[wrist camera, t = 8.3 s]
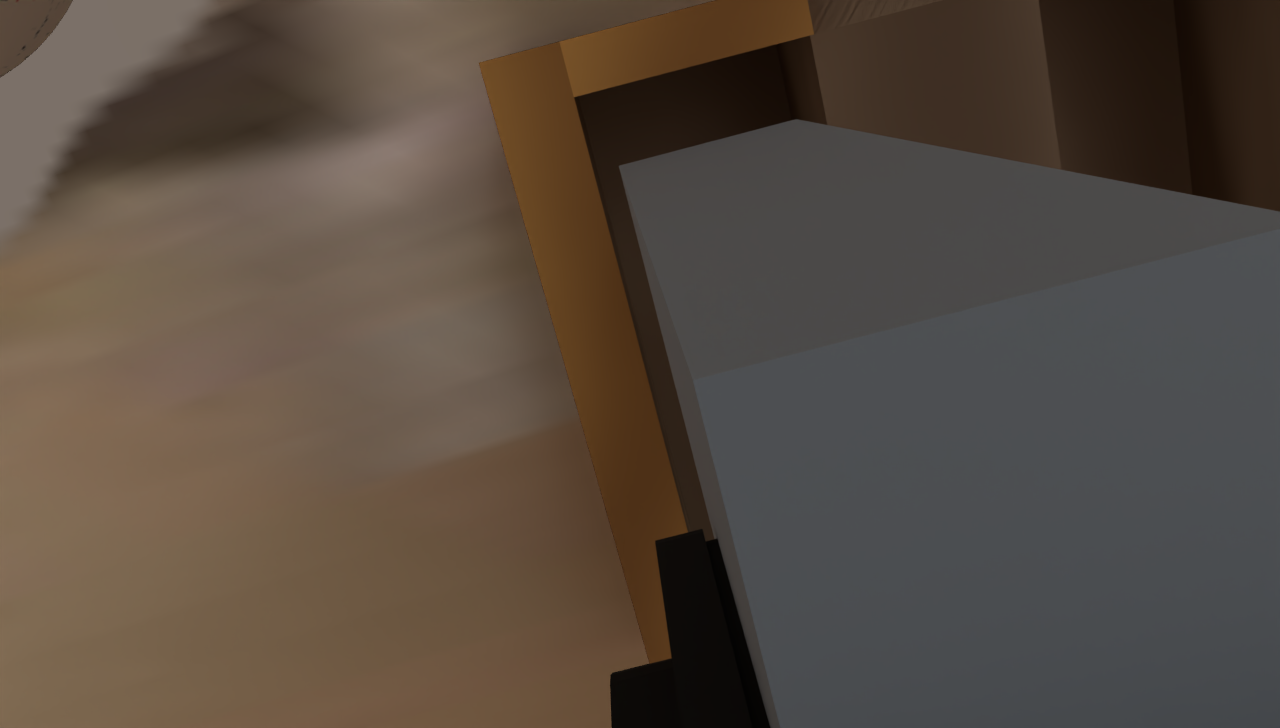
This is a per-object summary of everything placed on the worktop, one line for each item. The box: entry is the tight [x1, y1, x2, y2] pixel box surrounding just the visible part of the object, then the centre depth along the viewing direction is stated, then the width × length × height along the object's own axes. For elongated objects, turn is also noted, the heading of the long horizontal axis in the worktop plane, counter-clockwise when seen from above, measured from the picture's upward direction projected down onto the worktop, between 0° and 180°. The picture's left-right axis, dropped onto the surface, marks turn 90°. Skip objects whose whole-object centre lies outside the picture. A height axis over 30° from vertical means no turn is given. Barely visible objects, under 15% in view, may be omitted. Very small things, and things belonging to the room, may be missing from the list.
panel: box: [619, 119, 1280, 728], centre depth 10 cm, size 2×10×10 cm, turn 14°
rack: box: [479, 0, 1280, 663], centre depth 19 cm, size 20×13×5 cm, turn 104°
